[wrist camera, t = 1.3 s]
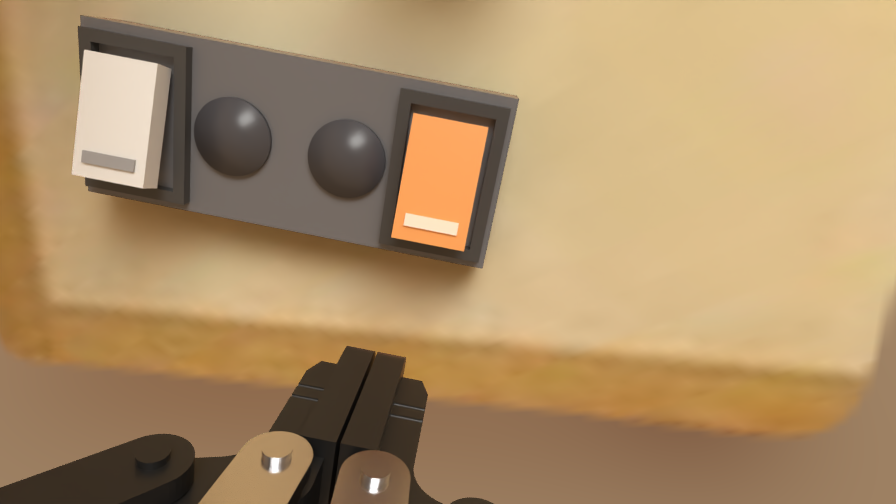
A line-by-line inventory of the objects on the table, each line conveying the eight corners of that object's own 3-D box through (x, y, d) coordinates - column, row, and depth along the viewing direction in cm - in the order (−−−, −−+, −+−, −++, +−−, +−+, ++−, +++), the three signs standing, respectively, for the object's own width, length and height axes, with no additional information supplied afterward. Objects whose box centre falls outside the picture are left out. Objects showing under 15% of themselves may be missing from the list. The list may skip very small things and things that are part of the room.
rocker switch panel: (120, 20, 29) (71, 14, 26) (516, 95, 29) (519, 99, 26) (123, 180, 32) (80, 193, 29) (483, 250, 32) (482, 272, 29)
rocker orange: (415, 116, 27) (413, 112, 25) (487, 129, 27) (488, 127, 25) (394, 235, 27) (390, 237, 26) (464, 248, 27) (463, 251, 26)
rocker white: (101, 55, 27) (82, 48, 26) (171, 68, 27) (156, 63, 26) (88, 174, 28) (69, 174, 26) (157, 188, 28) (141, 188, 26)
